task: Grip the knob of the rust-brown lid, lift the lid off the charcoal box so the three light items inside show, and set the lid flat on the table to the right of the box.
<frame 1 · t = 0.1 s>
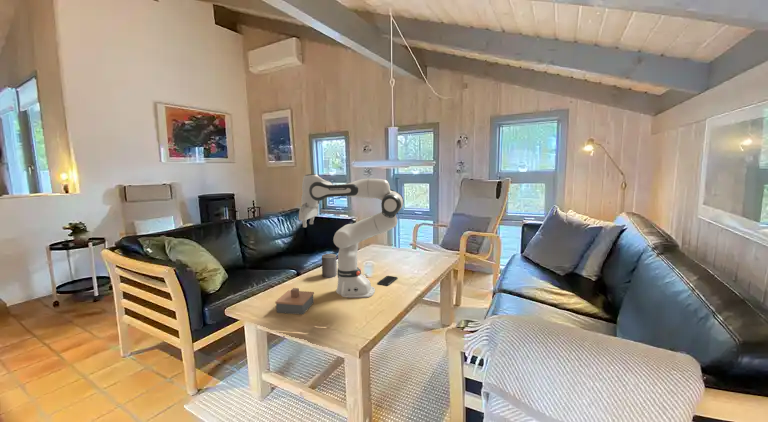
hand: (308, 225, 193), 39 cm above the table, tool pointing down, fingers open, 8 cm apart
off-white ball: (292, 304, 177), point 1 cm above the table, touching storage box
lid: (295, 298, 173), point 5 cm above the table, touching storage box
grey-blue cube: (287, 309, 171), point 1 cm above the table, touching storage box
birch cube: (304, 305, 176), point 1 cm above the table, touching storage box
phone: (387, 282, 212), on the table
storage box: (295, 308, 174), on the table
pillar candle: (329, 275, 223), on the table
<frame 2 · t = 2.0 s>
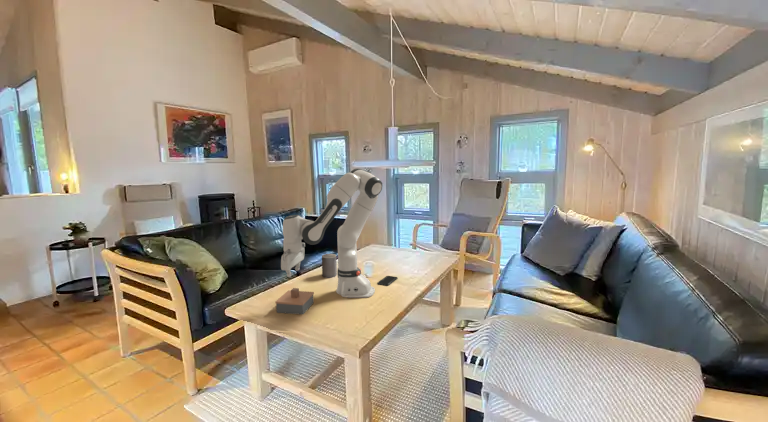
hand: (293, 273, 171), 19 cm above the table, tool pointing down, fingers open, 8 cm apart
nothing on the table moved.
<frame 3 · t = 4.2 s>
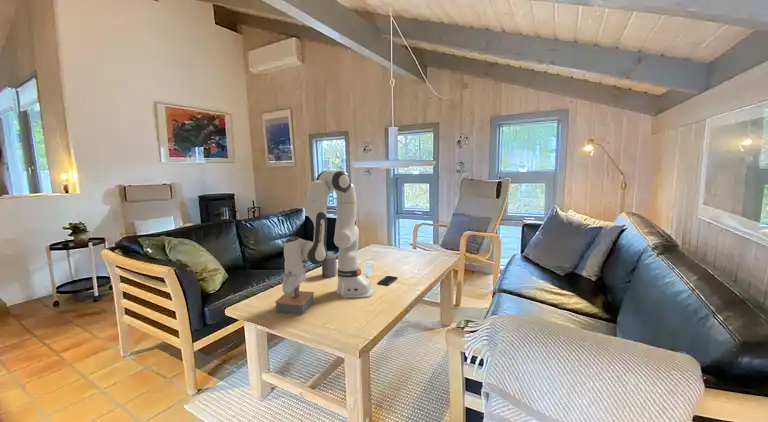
hand: (295, 294, 173), 8 cm above the table, tool pointing down, fingers closed on lid, 3 cm apart
lid: (295, 298, 173), point 5 cm above the table, touching gripper, storage box
everything else where it was.
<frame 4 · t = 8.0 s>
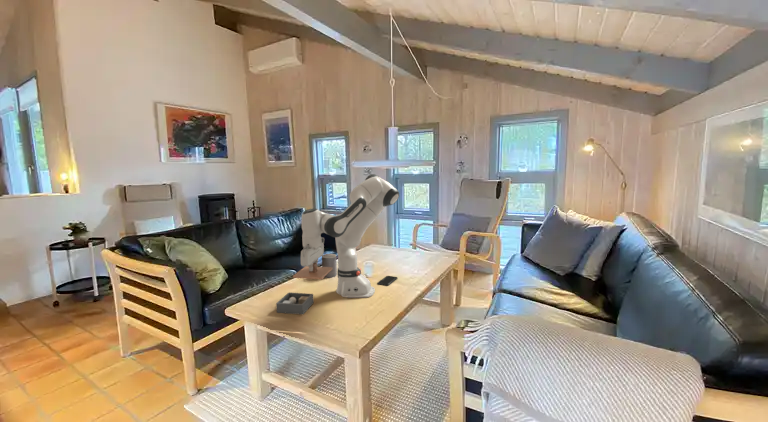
hand: (313, 269, 165), 23 cm above the table, tool pointing down, fingers closed on lid, 3 cm apart
lid: (313, 273, 165), point 21 cm above the table, touching gripper
everything else where it was.
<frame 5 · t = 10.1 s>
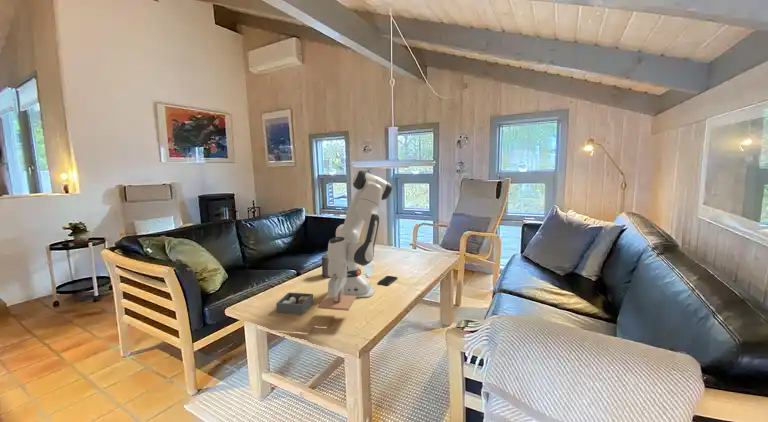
hand: (337, 298, 161), 10 cm above the table, tool pointing down, fingers closed on lid, 3 cm apart
lid: (337, 302, 161), point 8 cm above the table, touching gripper
everything else where it was.
when the fingers open (4 cm above the table, at t = 11.8 s): lid drops 2 cm, on the table.
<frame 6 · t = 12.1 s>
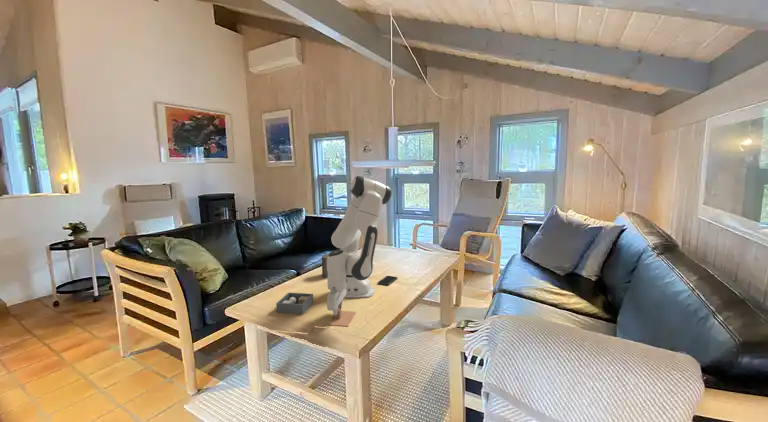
hand: (337, 311, 162), 4 cm above the table, tool pointing down, fingers open, 6 cm apart
lid: (337, 319, 163), on the table
everything else where it was.
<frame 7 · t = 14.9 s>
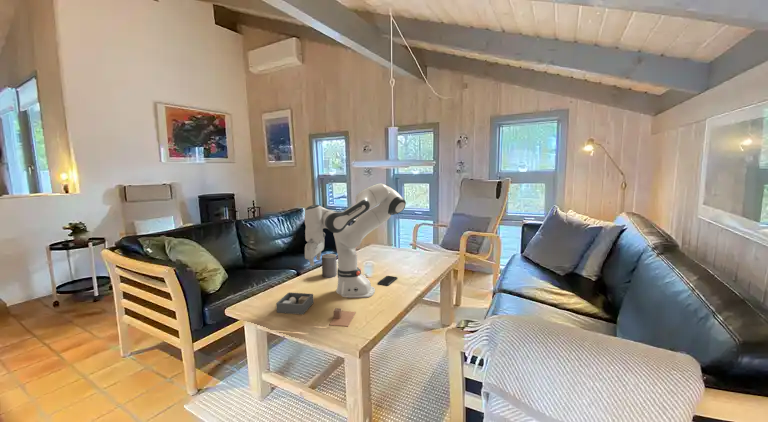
hand: (315, 262, 174), 24 cm above the table, tool pointing down, fingers open, 8 cm apart
nothing on the table moved.
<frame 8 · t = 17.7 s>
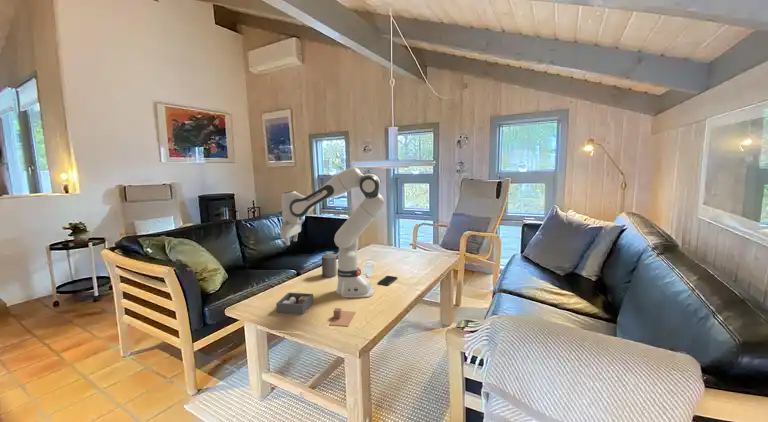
hand: (291, 243, 193), 29 cm above the table, tool pointing down, fingers open, 8 cm apart
nothing on the table moved.
at the end: lid inside the target area (0.1 cm from its centre), on the table; lid touching table; lid tilted 0° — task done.
